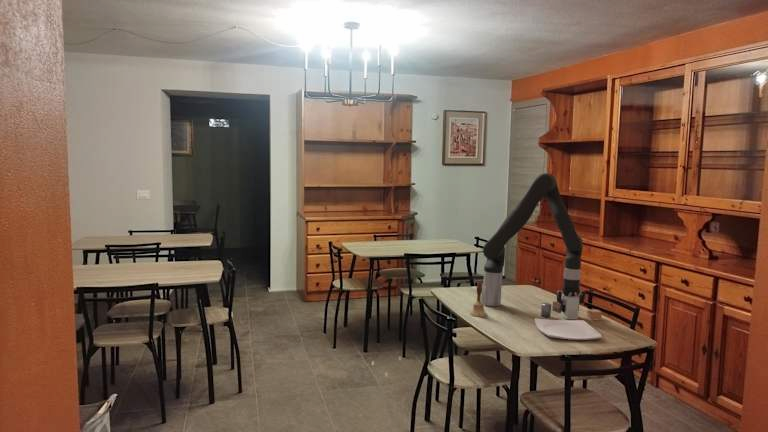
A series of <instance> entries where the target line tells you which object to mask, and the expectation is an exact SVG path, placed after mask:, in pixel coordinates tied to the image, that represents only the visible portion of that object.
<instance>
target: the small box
mask: <svg viewBox="0 0 768 432" xmlns="http://www.w3.org/2000/svg"><path fill="white" fill-rule="evenodd" d="M563 295H564V294H563V293H562V295H561V297H563ZM564 298H566V304H565V312H564V313H563V312H562V311H561V313H560V315H561V316H562V317H563V318H565V319H566V320H579V311H580V305H579V296H578V297H575V296H570V297H566V296H564ZM578 310H579V311H578Z"/></svg>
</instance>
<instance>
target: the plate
mask: <svg viewBox="0 0 768 432" xmlns="http://www.w3.org/2000/svg"><path fill="white" fill-rule="evenodd" d="M534 321H535V326H536V327H537V329H538V330H539V331H540V332H541V333H542V334H544V335H546V336H548V337H549V338H555V339H561V340H566V339H568V340H567V341H586V340H587V341H590V340H599V339H601V338H603V335H601V333H599V332H598V331H597V330H596V329H595V328H593V327H592V326H591V325H590V324H588V323H587V322H586V321H585V320H583V319H581V320H579V319H578V320H576V319H566V320H565V319H563V320H562V319H548V318H545V319H544V318H534Z"/></svg>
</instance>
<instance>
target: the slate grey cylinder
mask: <svg viewBox="0 0 768 432" xmlns="http://www.w3.org/2000/svg"><path fill="white" fill-rule="evenodd" d="M551 315H552V304H551V303H548V302H542V303H541V312H540V317H541V318H543V319H544V318H545V319H548V318H549V319H550V318H551V317H552V316H551Z"/></svg>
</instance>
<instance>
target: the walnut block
mask: <svg viewBox="0 0 768 432" xmlns="http://www.w3.org/2000/svg"><path fill="white" fill-rule="evenodd" d="M552 311H553V312H555V313H558V314H561V304H560V303H558V302H557V300H556V301H552Z"/></svg>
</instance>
